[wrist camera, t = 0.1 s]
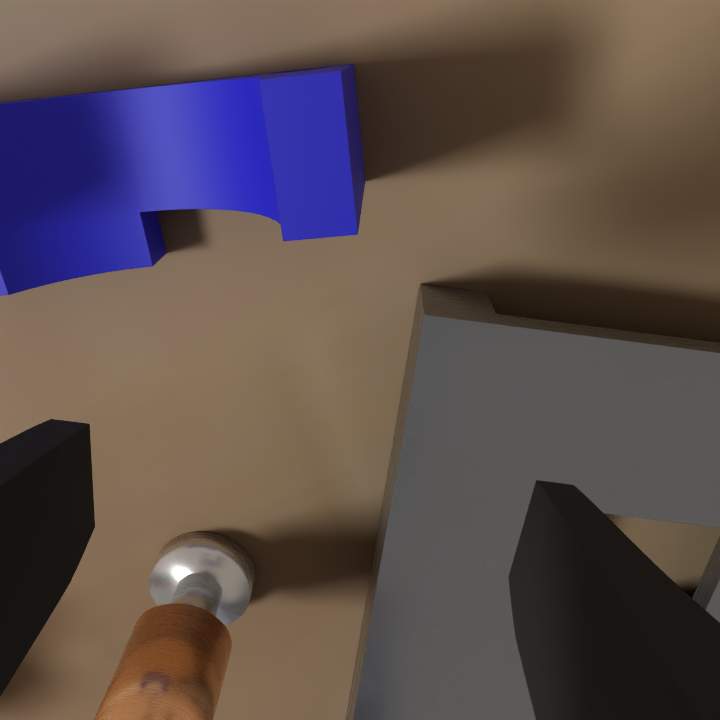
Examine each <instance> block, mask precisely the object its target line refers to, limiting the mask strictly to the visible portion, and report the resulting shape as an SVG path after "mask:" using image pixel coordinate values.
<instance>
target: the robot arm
mask: <svg viewBox="0 0 720 720" xmlns="http://www.w3.org/2000/svg"><path fill="white" fill-rule="evenodd" d="M94 528H95V519H94V500H93V481H92V463H91V444H90V425H89V424H86V423H78V422H70V421H62V420H54V419H50V420H48V421H46V422H43V423H41V424H39V425H37V426H34V427H32V428H30V429H28V430H26V431H24V432H22V433H20V434H18V435H16V436H14V437H12V438H10V439H8V440H6V441H5V442H3V443H1V444H0V696H1V694H2V693H3V691H4V690H5V688H6V686H7V685H8V683H9V681H10V680H11V678H12V677H13V675H14V673H15V672H16V670H17V669H18V667H19V665H20V664H21V662H22V660H23V659H24V657H25V656H26V654H27V652H28V651H29V649H30V648H31V646H32V644H33V643H34V641H35V639H36V638H37V636H38V635H39V633H40V631H41V630H42V628H43V627H44V625H45V623H46V622H47V620H48V618H49V617H50V615H51V613H52V612H53V610H54V608H55V607H56V605H57V604H58V602H59V600H60V599H61V597H62V595H63V594H64V592H65V590H66V589H67V587H68V585H69V583H70V582H71V579H72V577H73V575H74V573H75V571H76V569H77V566H78V564H79V562H80V560H81V558H82V556H83V553H84V551H85V549H86V546H87V544H88V542H89V539H90V537H91V535H92V532H93V530H94ZM508 579H509V588H510V598H511V607H512V615H513V623H514V631H515V637H516V642H517V646H518V650H519V654H520V658H521V662H522V666H523V671H524V675H525V679H526V683H527V687H528V691H529V695H530V699H531V702H532V706H533V710H534V714H535V718H536V720H720V622H718V621H717V620H716V619H715V618H714V617H713V616H711V615H710V614H709V613H708V612H707V611H706V610H705V609H703V608H702V607H701V606H700V605H699V604H698V603H697V602H695V601H694V600H693V599H692V598H691V597H690V596H689V595H687V594H686V593H685V592H684V591H683V590H682V589H681V588H680V587H679V586H678V585H677V584H676V583H674V582H673V581H672V580H671V579H670V578H669V577H668V576H667V575H666V574H665V573H664V572H663V571H662V570H661V569H660V568H658V567H657V566H656V565H655V564H654V563H653V562H652V561H651V560H650V559H649V558H648V557H647V556H646V555H645V554H644V553H643V552H642V551H641V550H640V549H639V548H638V547H637V546H636V545H635V544H634V543H633V542H632V541H631V540H630V539H629V538H628V537H627V536H626V535H625V534H624V533H623V532H622V531H621V530H620V529H619V528H618V527H617V526H616V525H615V524H614V523H613V522H612V521H611V520H610V519H609V518H608V517H607V516H606V515H605V514H604V513H603V512H602V511H601V510H600V509H599V508H598V507H597V506H596V505H595V504H594V503H593V502H592V501H591V500H590V499H589V498H588V497H587V496H585V495H584V494H583V493H582V492H581V491H580V490H579V489H578V488H577V487H576V486H574V485H572V484H564V483H556V482H548V481H540V480H536V482H535V486H534V489H533V493H532V496H531V500H530V503H529V507H528V510H527V514H526V517H525V521H524V524H523V528H522V531H521V535H520V538H519V542H518V545H517V549H516V552H515V556H514V559H513V563H512V566H511V570H510V573H509V577H508Z"/></svg>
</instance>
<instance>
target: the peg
mask: <svg viewBox="0 0 720 720" xmlns="http://www.w3.org/2000/svg"><path fill="white" fill-rule="evenodd" d="M254 581H255V568H254V565H253V562H252V560H251V558H250V556H249V555H248V553H247V552H246V551H245V550H244V549H243V548H242V547H241V546H240V545H239V544H237V543H236V542H234V541H233V540H231V539H229V538H227V537H224V536H222V535H219V534H215V533H210V532H191V533H186V534H183V535H180V536H178V537H176V538H174V539H172V540H171V541H170V542H168V543H167V544H166V545H165V546H164V548H163V549H162V551H161V553H160V555H159V558H158V560H157V562H156V564H155V567H154V569H153V571H152V573H151V576H150V581H149V587H150V592H151V596H152V598H153V600H154V601H155V603H156V605H157V606H156V607H153V608H151V609H149V610H148V611H146V612H145V613H144V614H143V615H142V616H141V617H140V618H139V619H138V621H137V622H136V625H135V627H134V629H133V631H132V634H131V636H130V638H129V641H128V643H127V645H126V648H125V650H124V652H123V654H122V657H121V659H120V661H119V664H118V666H117V668H116V671H115V673H114V675H113V677H112V680H111V682H110V684H109V687H108V689H107V691H106V694H105V696H104V698H103V701H102V703H101V705H100V707H99V710H98V712H97V714H96V717H95V719H94V720H213V719H214V715H215V711H216V707H217V703H218V699H219V695H220V692H221V688H222V684H223V680H224V676H225V672H226V668H227V664H228V660H229V656H230V653H231V647H232V641H231V637H230V634H229V632H228V630H227V628H226V627H225V625H226V624H229V623H231V622H233V621H235V620H236V619H238V618H239V617H240V616H241V615H242V614H243V613H244V612H245V610H246V608H247V607H248V604H249V601H250V597H251V593H252V589H253V585H254Z"/></svg>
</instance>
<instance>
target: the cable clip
mask: <svg viewBox="0 0 720 720" xmlns="http://www.w3.org/2000/svg"><path fill="white" fill-rule="evenodd" d="M364 186H365V175H364V165H363V154H362V144H361V134H360V123H359V113H358V102H357V92H356V82H355V71H354V64H347V65H338V66H329V67H320V68H311V69H302V70H293V71H284V72H275V73H266V74H256V75H247V76H238V77H229V78H220V79H211V80H202V81H193V82H184V83H175V84H166V85H157V86H148V87H139V88H129V89H120V90H111V91H102V92H93V93H84V94H75V95H66V96H57V97H48V98H39V99H30V100H21V101H12V102H2V103H0V296H2V295H10V294H13V293H17V292H20V291H24V290H27V289H31V288H35V287H39V286H43V285H47V284H51V283H55V282H59V281H64V280H68V279H73V278H78V277H83V276H88V275H93V274H99V273H105V272H111V271H118V270H125V269H133V268H141V267H151V266H153V265H155V264H156V263H157V262H158V261H159V260H160V259H161V258H162V257H163V256H164V255H165V254H166V249H165V244H164V240H163V236H162V231H161V227H160V222H159V218H158V214H157V211H160V210H177V209H223V210H236V211H244V212H251V213H255V214H260V215H263V216H266V217H269V218H271V219H273V220H276V221H277V222H278V223H280V224H281V229H282V236H283V241H292V240H303V239H313V238H324V237H335V236H346V235H357V234H358V229H359V222H360V214H361V207H362V200H363V193H364Z"/></svg>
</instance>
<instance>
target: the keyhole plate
mask: <svg viewBox="0 0 720 720" xmlns="http://www.w3.org/2000/svg"><path fill="white" fill-rule="evenodd" d="M536 480H540V481H548V482H556V483H564V484H572V485H574V486H576V487H577V488H578V489H579V490H580V491H581V492H582V493H583V494H584V495H585V496H587V497H588V498H589V499H590V500H591V501H592V502H593V503H594V504H595V505H596V506H597V507H598V508H599V509H600V510H601V511H602V512H603V513H605V514H613V515H622V516H630V517H638V518H646V519H654V520H662V521H670V522H678V523H686V524H694V525H703V526H711V527H719V528H720V343H718V342H710V341H703V340H695V339H687V338H679V337H672V336H664V335H656V334H648V333H641V332H633V331H625V330H617V329H610V328H602V327H594V326H587V325H579V324H571V323H563V322H556V321H548V320H540V319H532V318H525V317H517V316H509V315H501V314H496V313H495V311H494V308H493V306H492V303H491V301H490V298H489V296H488V294H487V293H484V292H476V291H468V290H460V289H453V288H445V287H437V286H430V285H422V284H420V288H419V294H418V300H417V305H416V311H415V317H414V323H413V329H412V335H411V341H410V346H409V352H408V358H407V364H406V370H405V376H404V382H403V388H402V393H401V399H400V405H399V411H398V417H397V423H396V429H395V434H394V440H393V446H392V452H391V458H390V464H389V470H388V476H387V481H386V487H385V493H384V499H383V505H382V511H381V517H380V523H379V528H378V534H377V540H376V546H375V552H374V558H373V564H372V569H371V575H370V581H369V587H368V593H367V599H366V605H365V611H364V616H363V622H362V628H361V634H360V640H359V646H358V652H357V658H356V663H355V669H354V675H353V681H352V687H351V693H350V699H349V704H348V710H347V716H346V720H536V718H535V714H534V710H533V706H532V702H531V699H530V695H529V691H528V687H527V683H526V679H525V675H524V671H523V666H522V662H521V658H520V654H519V650H518V646H517V642H516V637H515V631H514V623H513V615H512V607H511V598H510V588H509V579H508V577H509V573H510V570H511V566H512V563H513V559H514V556H515V552H516V549H517V545H518V542H519V538H520V535H521V531H522V528H523V524H524V521H525V517H526V514H527V510H528V507H529V503H530V500H531V496H532V493H533V489H534V486H535V482H536ZM692 599H693V600H694V601H695V602H697V603H698V604H699V605H700V606H701V607H702V608H703V609H705V610H706V611H707V612H708V613H709V614H710V615H711V616H713V617H714V618H715V619H716V620H717V621H718V622H720V537H719V539H718V541H717V544H716V546H715V548H714V550H713V553H712V555H711V557H710V559H709V562H708V564H707V566H706V568H705V570H704V573H703V575H702V577H701V579H700V582H699V584H698V586H697V588H696V591H695V593H694V595H693V597H692Z"/></svg>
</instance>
